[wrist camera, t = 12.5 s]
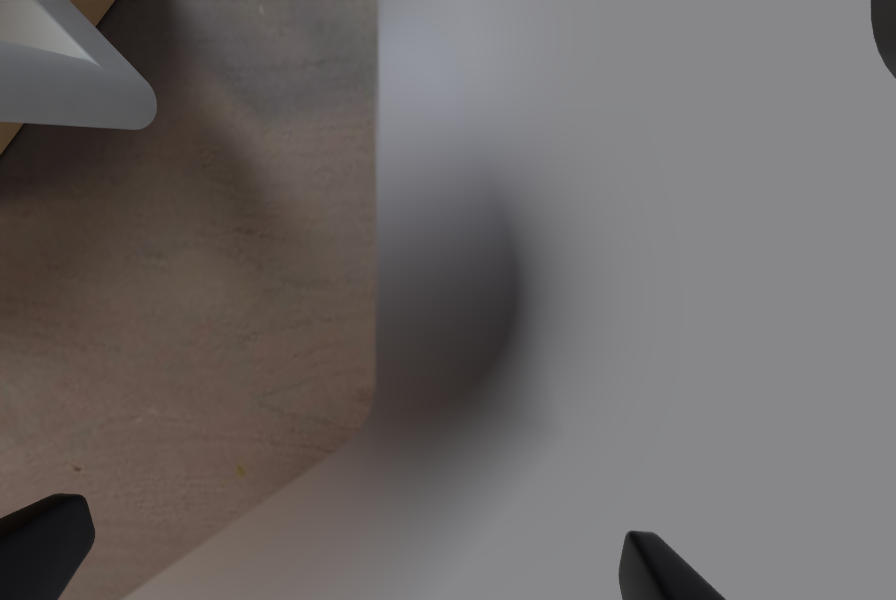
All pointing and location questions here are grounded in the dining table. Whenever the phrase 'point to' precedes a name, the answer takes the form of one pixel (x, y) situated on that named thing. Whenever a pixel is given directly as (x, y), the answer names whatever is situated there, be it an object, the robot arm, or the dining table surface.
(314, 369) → the dining table surface
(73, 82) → the fridge door
